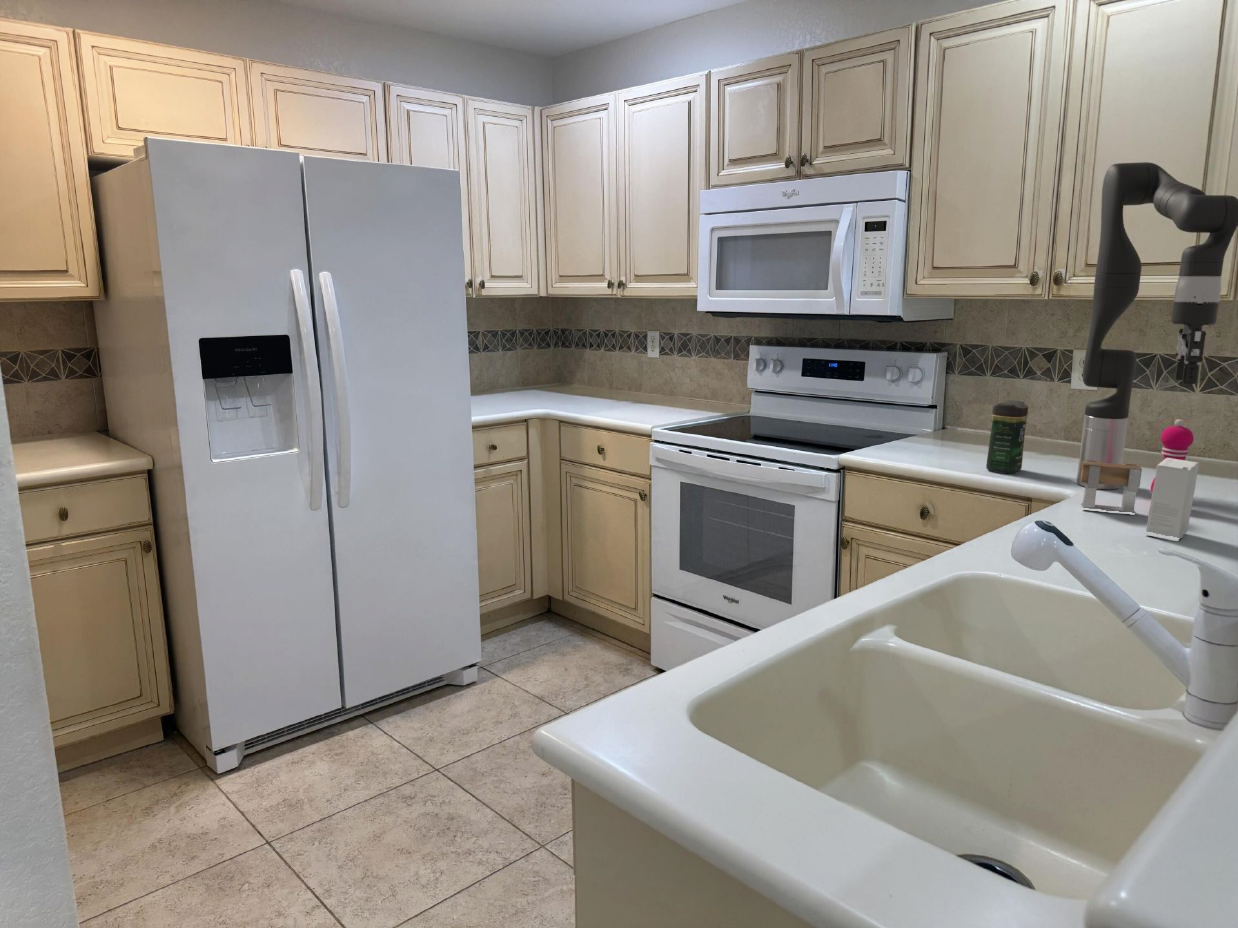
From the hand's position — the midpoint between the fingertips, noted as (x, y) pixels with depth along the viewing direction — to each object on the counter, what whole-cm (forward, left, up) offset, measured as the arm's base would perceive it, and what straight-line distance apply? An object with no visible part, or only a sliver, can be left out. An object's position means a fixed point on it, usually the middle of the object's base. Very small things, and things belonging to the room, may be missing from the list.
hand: (1185, 381), depth 174 cm
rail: (-5, -10, -23) cm, 26 cm away
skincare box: (+11, -1, -30) cm, 32 cm away
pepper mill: (-14, +3, -30) cm, 33 cm away
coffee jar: (-41, -30, -30) cm, 59 cm away
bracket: (-5, -10, -29) cm, 31 cm away
